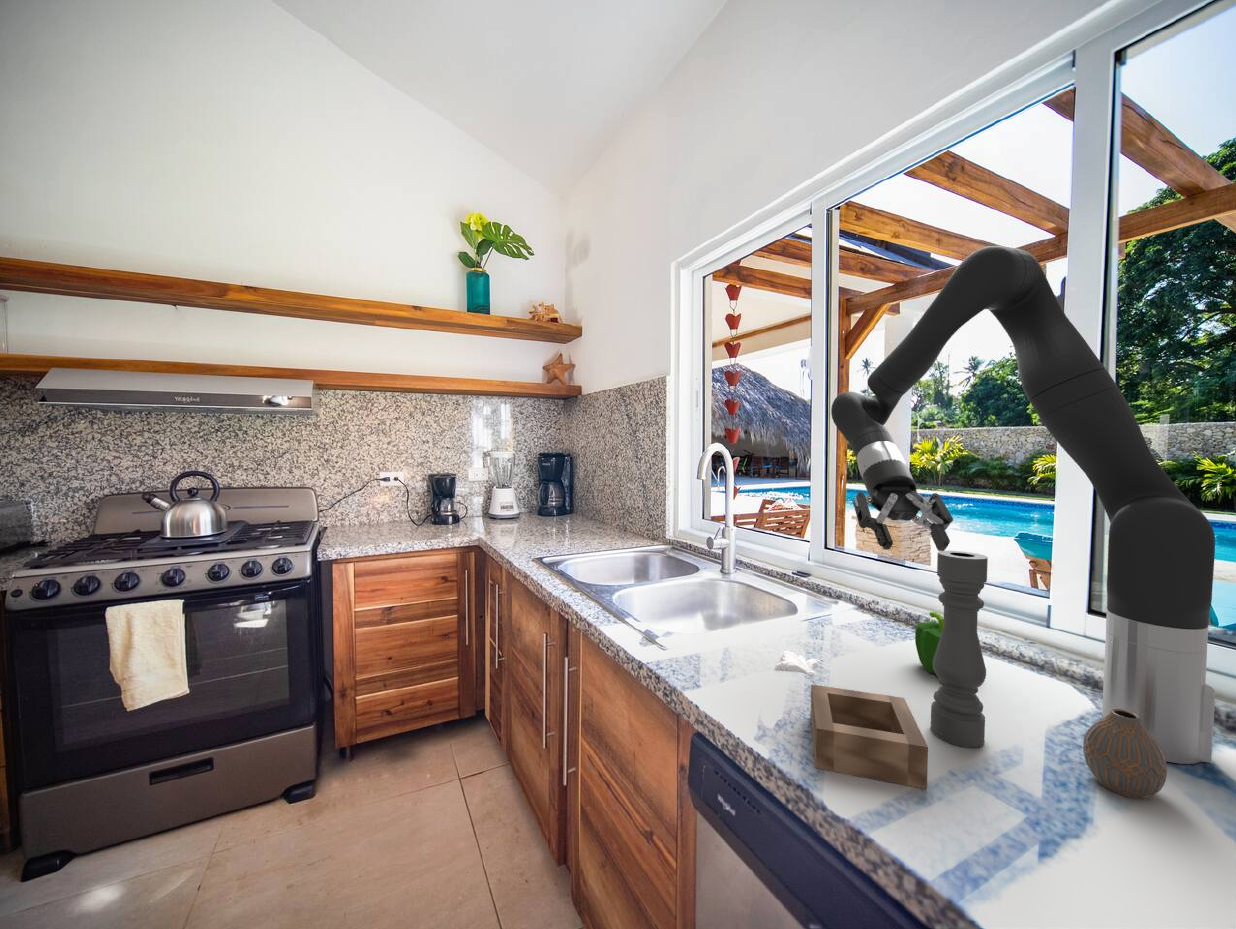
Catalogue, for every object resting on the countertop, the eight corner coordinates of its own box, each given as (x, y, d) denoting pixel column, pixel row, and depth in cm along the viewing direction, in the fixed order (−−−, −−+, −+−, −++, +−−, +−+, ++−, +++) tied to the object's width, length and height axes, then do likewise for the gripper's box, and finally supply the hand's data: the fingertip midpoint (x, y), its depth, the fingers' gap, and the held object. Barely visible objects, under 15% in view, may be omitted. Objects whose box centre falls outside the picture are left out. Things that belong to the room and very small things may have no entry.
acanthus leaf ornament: (775, 673, 89) (775, 662, 89) (779, 658, 95) (779, 648, 95) (820, 680, 86) (820, 669, 86) (821, 665, 92) (821, 655, 92)
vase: (1079, 760, 64) (1082, 693, 63) (1158, 784, 59) (1162, 711, 59) (1084, 789, 58) (1087, 715, 58) (1171, 817, 54) (1175, 738, 54)
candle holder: (932, 739, 68) (937, 556, 67) (928, 718, 73) (933, 548, 73) (988, 753, 65) (994, 561, 64) (980, 729, 70) (985, 553, 70)
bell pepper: (979, 684, 84) (981, 626, 83) (925, 679, 86) (927, 622, 85) (956, 663, 92) (958, 609, 92) (907, 659, 94) (909, 606, 93)
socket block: (903, 733, 69) (904, 697, 69) (926, 789, 58) (928, 747, 58) (810, 717, 73) (811, 684, 73) (815, 767, 62) (816, 728, 62)
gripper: (850, 457, 88) (878, 533, 77) (933, 458, 88) (974, 535, 77) (838, 485, 94) (862, 559, 83) (916, 486, 93) (951, 561, 82)
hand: (916, 547), depth 80 cm, fingers open, 8 cm apart
